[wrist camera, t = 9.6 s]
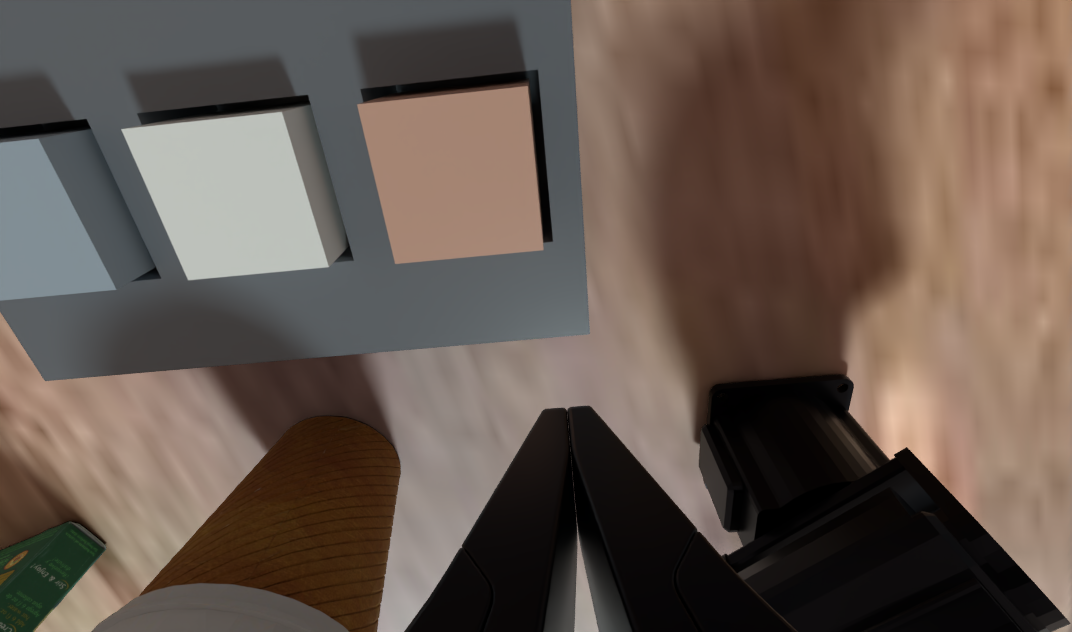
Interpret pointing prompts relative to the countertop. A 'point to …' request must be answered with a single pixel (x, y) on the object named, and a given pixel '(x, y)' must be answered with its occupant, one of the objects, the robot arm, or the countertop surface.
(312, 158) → the pale key
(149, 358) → the key panel
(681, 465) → the countertop surface
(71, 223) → the slate key
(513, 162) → the rust key
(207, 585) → the disposable coffee cup
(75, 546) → the coffee box
